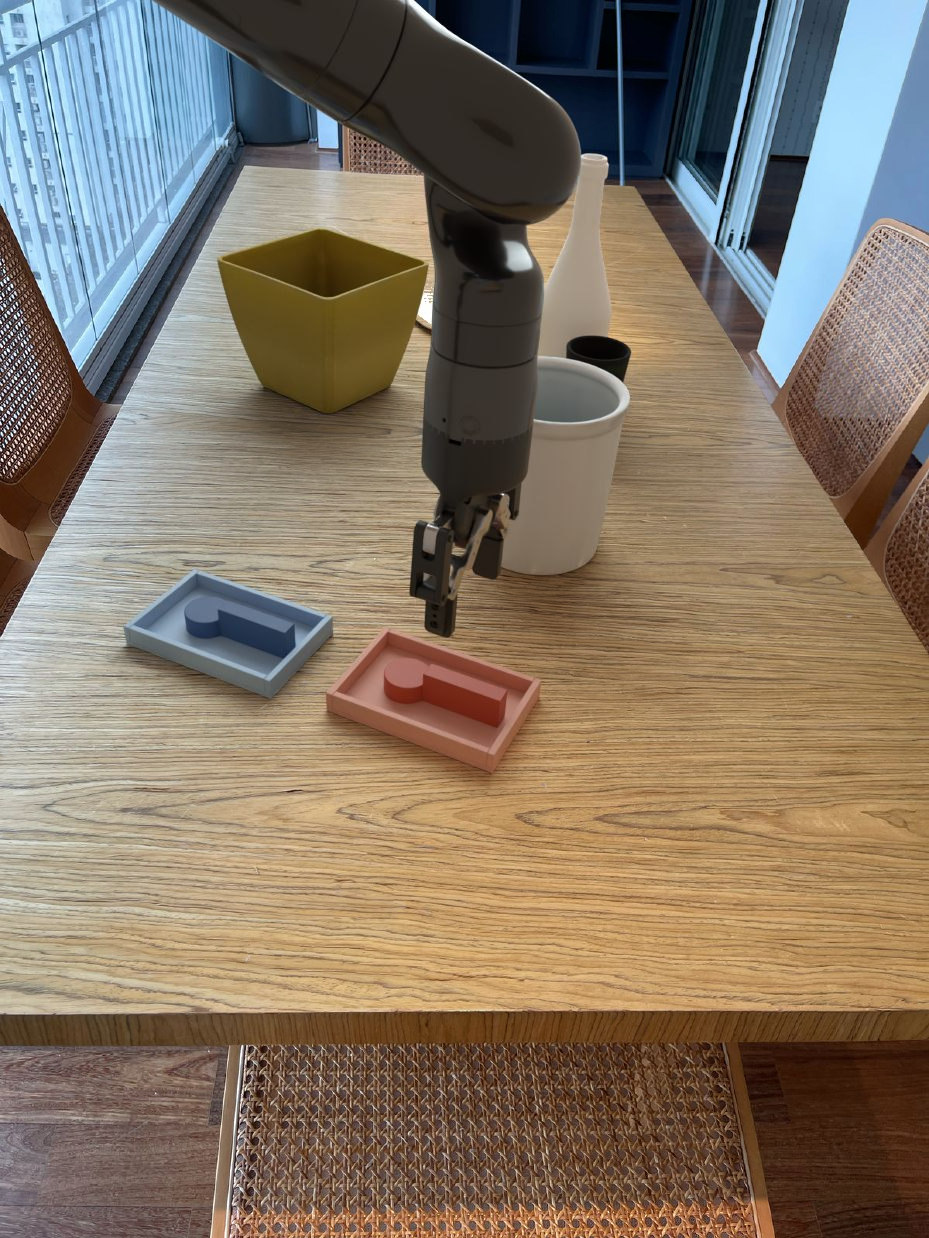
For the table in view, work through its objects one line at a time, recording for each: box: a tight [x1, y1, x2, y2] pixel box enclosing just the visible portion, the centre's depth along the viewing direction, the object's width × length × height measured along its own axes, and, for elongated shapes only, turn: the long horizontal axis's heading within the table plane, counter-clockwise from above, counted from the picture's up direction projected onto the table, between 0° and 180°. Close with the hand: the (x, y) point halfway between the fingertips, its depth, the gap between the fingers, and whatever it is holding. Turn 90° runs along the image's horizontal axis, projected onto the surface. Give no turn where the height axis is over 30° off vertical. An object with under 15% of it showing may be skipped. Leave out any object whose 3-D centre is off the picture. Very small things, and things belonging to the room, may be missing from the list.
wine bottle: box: [538, 153, 613, 359], centre depth 127 cm, size 10×10×30 cm
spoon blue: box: [184, 597, 296, 659], centre depth 89 cm, size 11×4×3 cm, turn 65°
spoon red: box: [384, 658, 508, 728], centre depth 84 cm, size 11×4×3 cm, turn 65°
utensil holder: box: [501, 356, 631, 576], centre depth 101 cm, size 15×15×18 cm
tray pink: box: [325, 626, 543, 774], centre depth 85 cm, size 15×10×2 cm
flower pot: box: [216, 227, 430, 414], centre depth 128 cm, size 19×19×17 cm
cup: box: [566, 335, 632, 384], centre depth 122 cm, size 8×8×12 cm
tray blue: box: [123, 568, 334, 699], centre depth 90 cm, size 15×10×2 cm
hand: (463, 602), depth 77 cm, fingers open, 8 cm apart
